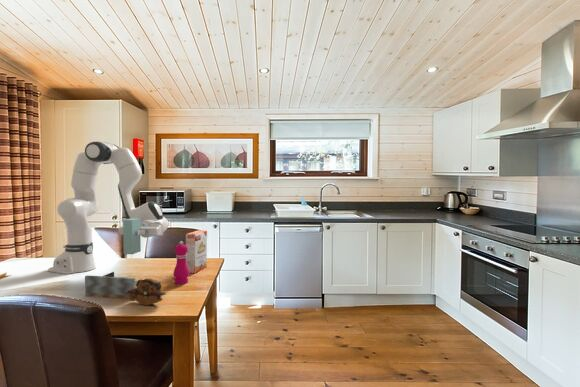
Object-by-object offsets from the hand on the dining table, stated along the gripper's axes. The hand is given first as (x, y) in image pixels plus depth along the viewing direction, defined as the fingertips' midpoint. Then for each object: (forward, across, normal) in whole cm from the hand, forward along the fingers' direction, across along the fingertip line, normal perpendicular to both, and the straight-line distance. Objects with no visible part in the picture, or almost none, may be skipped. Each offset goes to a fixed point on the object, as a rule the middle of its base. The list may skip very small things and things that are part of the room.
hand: (130, 233), depth 155 cm
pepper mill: (-5, +23, +24) cm, 33 cm away
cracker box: (-27, +21, +24) cm, 42 cm away
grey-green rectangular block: (-1, 0, +10) cm, 10 cm away
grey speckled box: (+10, +2, +24) cm, 26 cm away
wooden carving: (+23, +22, +24) cm, 40 cm away
